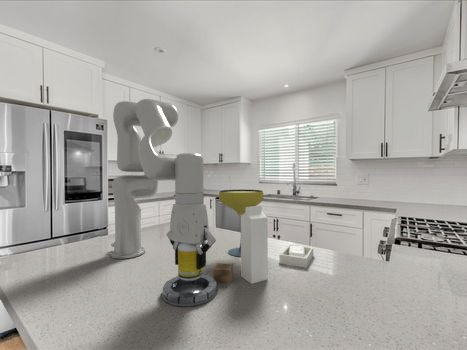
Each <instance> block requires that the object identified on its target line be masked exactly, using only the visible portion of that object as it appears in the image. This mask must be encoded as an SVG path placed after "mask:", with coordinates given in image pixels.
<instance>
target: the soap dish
mask: <svg viewBox="0 0 467 350" xmlns="http://www.w3.org/2000/svg"><path fill="white" fill-rule="evenodd" d="M290 246H297V245H294V244H288V245H287V247H285V248H284V249H283V250H282V251H281V252H280V253H279V264H282V265H287V266H294V267H299V268H306V269H307V268H308V266H309V264H310V262H311V261H312V259H313V258H314V247H310V246H301V245H299V246H300V247H304V253H305V258H303V257H296V256H290V255H289V249H290Z"/></svg>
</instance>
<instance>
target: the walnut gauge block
mask: <svg viewBox="0 0 467 350" xmlns="http://www.w3.org/2000/svg"><path fill="white" fill-rule="evenodd" d="M233 266H234V265H233V263H222V262H221V263H217V262H216V265H215V266H214V268H213V278H214V279H215V280H216V284H231V283H232V280H233V276H234V273H233V272H234V267H233Z"/></svg>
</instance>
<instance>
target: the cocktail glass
mask: <svg viewBox="0 0 467 350" xmlns="http://www.w3.org/2000/svg"><path fill="white" fill-rule="evenodd" d="M264 196H265V195H264V191H263V190H261V189H224V190H219V192H218V200H219V202H220V203H222V205H224V206H226V207H228V208H230V209H232V210H234V211H235V212H236V214H238V216H240V217H241V216H242V215H243V214H244V213H245V212H246V207H253V206H259V205H260V204H261V203H262V202H263V201H264ZM227 252H228V254H229V255H230V256H233V257H238V258H241V239H240V243H239V247H234V248H231V249H229V250H228V251H227Z"/></svg>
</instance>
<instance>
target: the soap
mask: <svg viewBox="0 0 467 350" xmlns="http://www.w3.org/2000/svg"><path fill="white" fill-rule="evenodd" d="M300 246H301V245H296V246H290V249H289V255H290V256H296V257H303V258H305V253H304V247H305V246H303V247H300Z"/></svg>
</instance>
